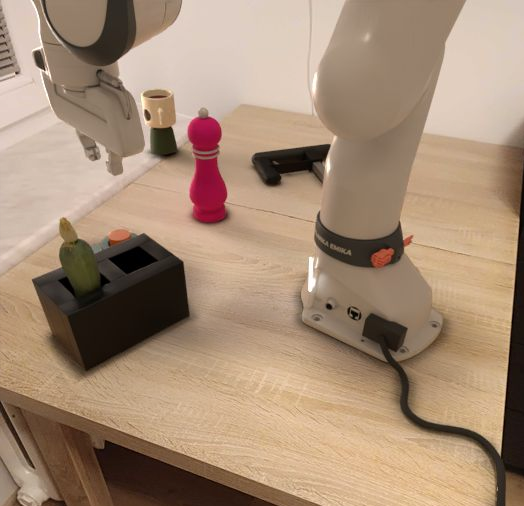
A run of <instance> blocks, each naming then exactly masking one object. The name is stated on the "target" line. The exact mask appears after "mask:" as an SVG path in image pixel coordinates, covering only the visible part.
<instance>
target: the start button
mask: <svg viewBox="0 0 524 506" xmlns="http://www.w3.org/2000/svg"><path fill="white" fill-rule="evenodd" d="M130 232H131V231H130V230H127V229H124V228H119V229H113V230H112V231H110V232H109V233H108V235H107V236H108V238H109V242H110V246H114V245H116V244H118V243H121V242H123V241H126V240H128V239H130V238H131V234H130Z"/></svg>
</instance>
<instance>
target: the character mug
mask: <svg viewBox="0 0 524 506" xmlns="http://www.w3.org/2000/svg"><path fill="white" fill-rule="evenodd" d="M140 98H141V105H142V106H141V107H142V113H143V119H144V124H145V126H148V127H150V129H149V144H150V145H149V146H150V152H151V153H152V154H153V155H157V156H163V155H164V156H166V155H169V154H173V153H176V152H177V151H178V146H177V140H176V135H175V132H174V131H175V130H174V129H173V126H175V125H176V124H177V116H176V115H177V113H176V104H175V95H174V92H173V91H172V90H170V89H166V88H153V89H147V90H144V91H142V92H141V93H140Z"/></svg>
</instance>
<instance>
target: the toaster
mask: <svg viewBox="0 0 524 506" xmlns="http://www.w3.org/2000/svg"><path fill="white" fill-rule="evenodd" d="M137 235H138V236H135V237H133V238H130V239H128V240H126V241H123V242H121V243H118V244H116V245H114V246H111V247H109V248H106V249H104V250H101V251H99V252H97V253H94V255H95V257H96V260H97V264H98V267H99V271H100V283H101V287H100V288H98V289H95V290H93V291H91V292H89V293H86V294H84V295H82V296H80V297H78V298H76V296H75V293H74V289H73V287H72V285H71V283H70V281H69V279H68V277H67V276H66V274H65V272H64V270H63V268H62V266H61V267H58V268H55V269H53V270H51V271H48V272H46V273H44V274H41V275H38V276H36V277H33V278H31V282H32V284H33V288H34V290H35V292H36V295H37V297H38V300H39V303H40V306H41V308H42V311H43V314H44V316H45V319H46V322H47V324H48V326H49V329H50V332H51V334H52V336H53V337H54V338H55V339H56V340H57V341H58V343H59V344H60V345H61V346H62V347H63V348H64V349H65V350H66V351H67V352H68V354H69V355H70V356H71V357H72V358H73V359H74V360H75V362H76V363H77V364H79V366H80V367H81V368H82V369H83V370H84V371H85V372H88V371H90V370H92V369H93V368H96V367H98V366H99V365H101V364H103V363H105V362H106V361H109V360H110V359H112V358H114V357H116V356H117V355H120V354H121V353H123V352H125V351H128V350H129V349H131V348H133V347H135V346H137V345H139V344H140V343H142V342H144V341H145V340H147V339H149V338H151V337H153V336H155V335H157V334H159V333H161V332H163V331H164V330H166V329H168V328H170V327H172V326H174V325H175V324H177V323H180V322H181V321H183V320H185V319H186V318H189V317H190V307H189V297H188V290H187V289H188V288H187V280H186V271H185V264H184V260H182V259H180V257H178V256H176V255H175V254H174V253H173V252H171V251H170V250H168V249H167V248H165V247H164V246H163V245H161V244H160V243H158V242H157V241H155V239H153V238H151V237H150V236H149V235H148V234H146V233H145V232H143V233H140V234H137Z"/></svg>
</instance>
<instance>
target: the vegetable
mask: <svg viewBox="0 0 524 506" xmlns="http://www.w3.org/2000/svg"><path fill="white" fill-rule="evenodd" d="M58 225H59V226H58V227H59V228H58V232H59V235H60V237H61V238H62V239H63V242H62V244H61V245H60V248H59V251H58V258H59V263H60V265H61V267H62V268H63V270H64V272H65V274H66V276H67V277H68V279H69V281H70V283H71V285H72V287H73V289H74V293H75V296H76V298H78V297H80V296H82V295H84V294H86V293H89V292H91V291H93V290H95V289H98V288H100V287H101V283H100V271H99V267H98V264H97V260H96V257H95V255H94V252H93V250H92V248H91V246H92V245H90V244H89V243H88V242H87V240H84V239H83V238H78V233H77V231H76V229H75V228H74V227H73V225H72V223H71V222H70V220H68V219H67V217H65V216H63V217H61V218H60V219H59V223H58Z"/></svg>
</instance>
